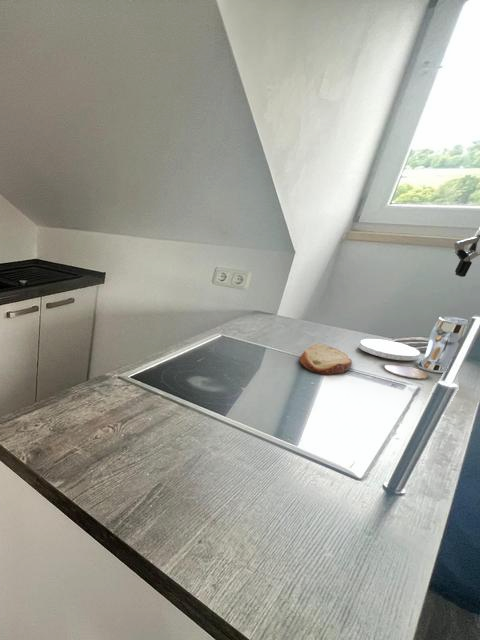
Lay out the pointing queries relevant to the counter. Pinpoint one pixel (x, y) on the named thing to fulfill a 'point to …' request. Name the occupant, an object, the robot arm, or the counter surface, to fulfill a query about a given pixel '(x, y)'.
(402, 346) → the plastic lid
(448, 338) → the beer glass
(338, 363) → the bread slice
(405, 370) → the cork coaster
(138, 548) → the counter surface
